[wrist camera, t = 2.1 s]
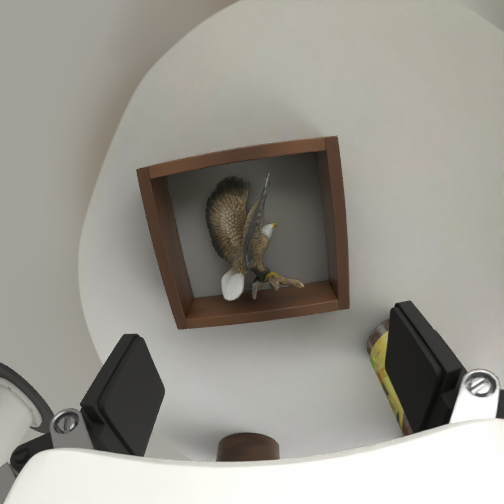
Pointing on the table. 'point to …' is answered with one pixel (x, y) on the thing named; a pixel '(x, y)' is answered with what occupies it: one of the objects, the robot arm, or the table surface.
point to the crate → (267, 301)
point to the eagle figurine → (241, 237)
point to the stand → (247, 448)
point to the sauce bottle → (377, 358)
